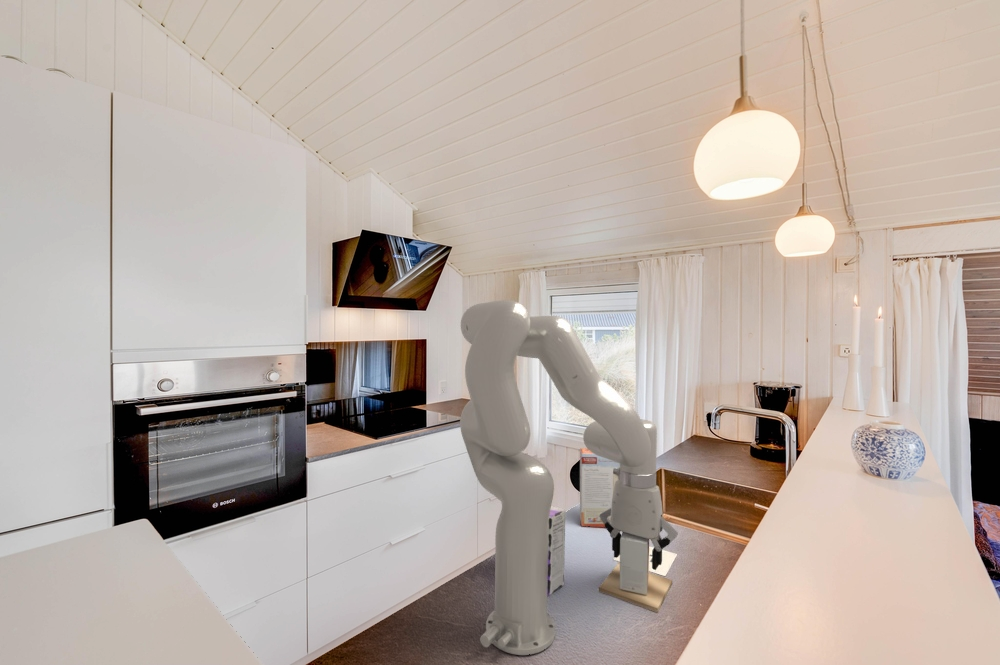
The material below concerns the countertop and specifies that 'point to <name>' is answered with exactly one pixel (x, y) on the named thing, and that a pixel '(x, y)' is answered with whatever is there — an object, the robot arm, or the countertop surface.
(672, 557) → the card
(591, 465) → the cracker box
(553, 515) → the candy box
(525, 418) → the robot arm
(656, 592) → the coaster
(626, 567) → the small box
